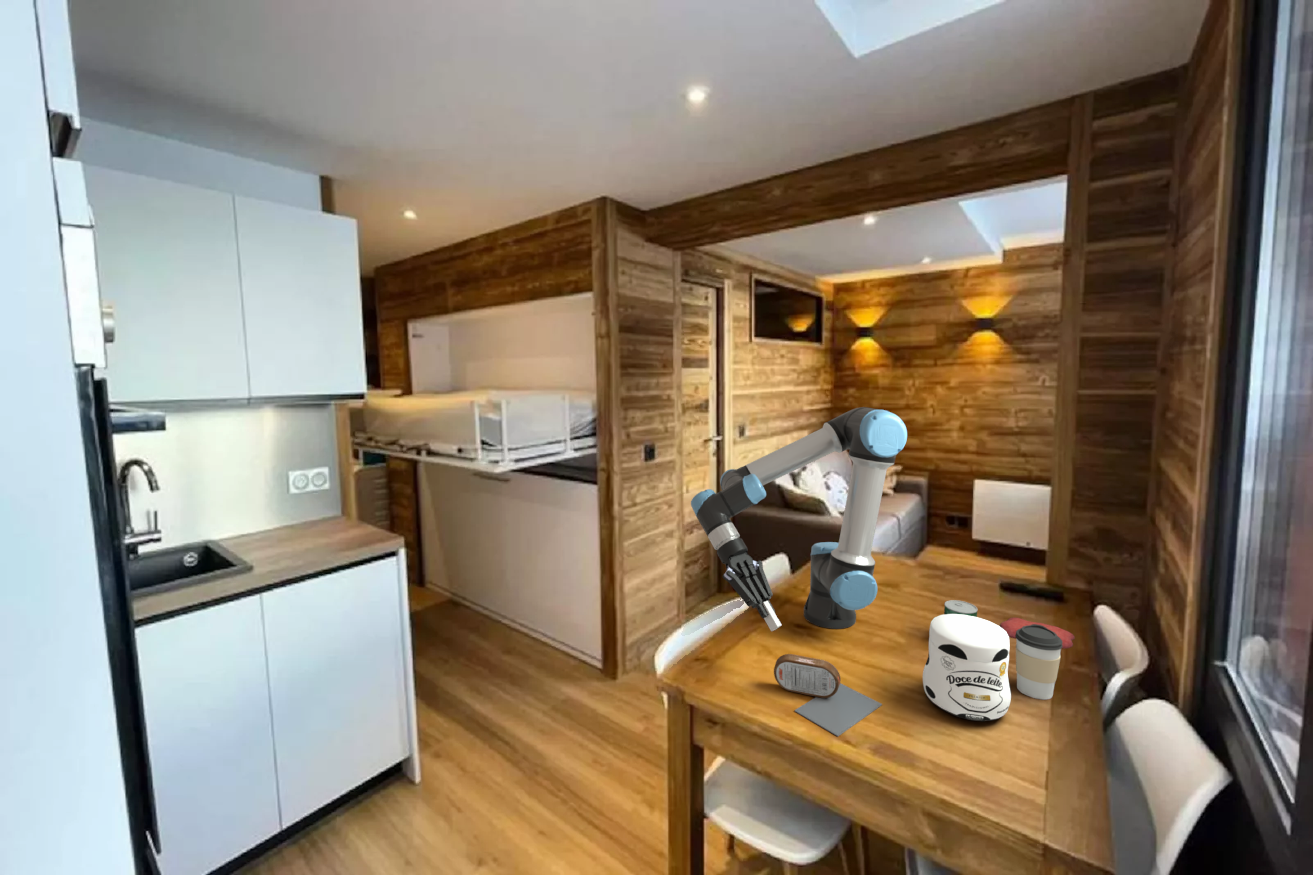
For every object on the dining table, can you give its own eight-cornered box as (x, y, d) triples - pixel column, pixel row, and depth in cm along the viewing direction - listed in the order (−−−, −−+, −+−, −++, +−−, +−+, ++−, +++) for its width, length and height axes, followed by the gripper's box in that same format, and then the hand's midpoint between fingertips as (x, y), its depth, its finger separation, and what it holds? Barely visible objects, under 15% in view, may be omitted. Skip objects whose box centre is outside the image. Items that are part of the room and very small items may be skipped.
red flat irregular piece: (997, 635, 158) (997, 629, 158) (1002, 617, 169) (1003, 611, 169) (1074, 654, 148) (1074, 647, 147) (1074, 634, 159) (1075, 627, 158)
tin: (840, 696, 129) (840, 661, 128) (839, 703, 126) (839, 667, 125) (775, 683, 135) (775, 649, 134) (772, 689, 133) (772, 656, 132)
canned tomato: (979, 653, 148) (982, 613, 147) (947, 650, 150) (949, 611, 148) (969, 638, 156) (971, 601, 154) (938, 636, 157) (940, 599, 156)
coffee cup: (1059, 707, 125) (1065, 643, 123) (1011, 694, 129) (1016, 633, 127) (1056, 687, 132) (1061, 627, 130) (1011, 676, 137) (1015, 618, 135)
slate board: (794, 711, 124) (794, 710, 124) (839, 683, 135) (839, 682, 135) (837, 736, 116) (837, 735, 116) (881, 705, 126) (882, 703, 126)
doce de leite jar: (971, 738, 115) (976, 656, 112) (904, 692, 131) (908, 619, 128) (1028, 716, 121) (1034, 638, 119) (958, 676, 137) (962, 606, 135)
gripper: (738, 546, 152) (784, 627, 142) (702, 556, 145) (749, 642, 134) (753, 532, 148) (802, 614, 137) (717, 541, 140) (767, 629, 129)
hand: (776, 628), depth 135 cm, fingers closed
